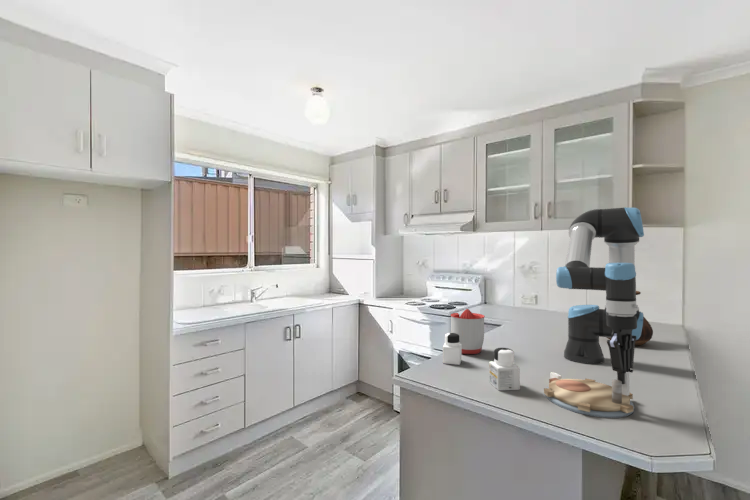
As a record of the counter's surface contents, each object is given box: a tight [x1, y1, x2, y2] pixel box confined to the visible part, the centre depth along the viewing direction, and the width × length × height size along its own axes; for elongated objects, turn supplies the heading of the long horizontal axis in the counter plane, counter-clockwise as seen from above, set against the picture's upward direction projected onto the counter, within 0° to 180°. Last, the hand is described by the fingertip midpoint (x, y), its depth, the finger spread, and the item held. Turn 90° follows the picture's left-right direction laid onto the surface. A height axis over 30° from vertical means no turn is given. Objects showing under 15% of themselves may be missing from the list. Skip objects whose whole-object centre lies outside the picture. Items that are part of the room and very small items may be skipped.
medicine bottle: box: [442, 332, 463, 366], centre depth 153 cm, size 7×7×12 cm
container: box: [488, 347, 521, 391], centre depth 125 cm, size 8×8×13 cm
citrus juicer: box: [450, 308, 485, 355], centre depth 170 cm, size 16×17×20 cm
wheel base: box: [544, 371, 635, 419], centre depth 116 cm, size 29×24×3 cm
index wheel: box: [543, 377, 634, 413], centre depth 114 cm, size 25×24×8 cm
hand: (623, 393), depth 107 cm, fingers closed
